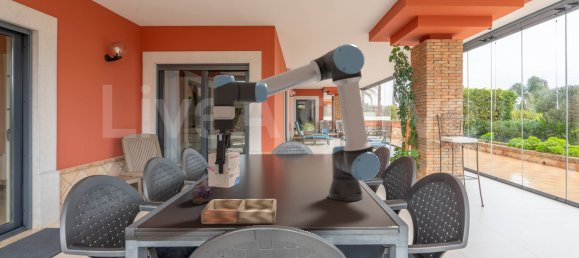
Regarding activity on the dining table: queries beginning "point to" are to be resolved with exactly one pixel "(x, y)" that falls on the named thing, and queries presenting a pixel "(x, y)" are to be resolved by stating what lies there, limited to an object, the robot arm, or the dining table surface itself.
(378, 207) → the dining table surface
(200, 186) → the rock
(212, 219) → the divided tray
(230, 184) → the ink box
